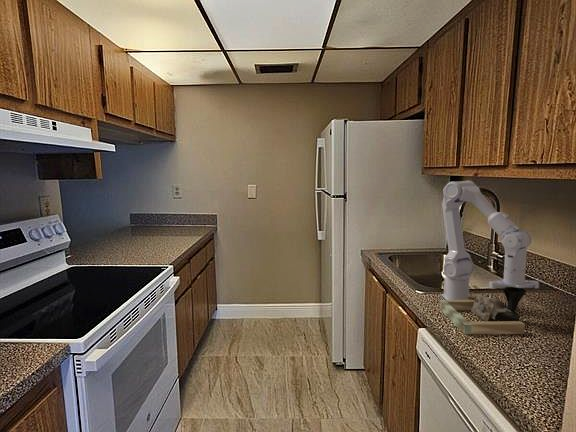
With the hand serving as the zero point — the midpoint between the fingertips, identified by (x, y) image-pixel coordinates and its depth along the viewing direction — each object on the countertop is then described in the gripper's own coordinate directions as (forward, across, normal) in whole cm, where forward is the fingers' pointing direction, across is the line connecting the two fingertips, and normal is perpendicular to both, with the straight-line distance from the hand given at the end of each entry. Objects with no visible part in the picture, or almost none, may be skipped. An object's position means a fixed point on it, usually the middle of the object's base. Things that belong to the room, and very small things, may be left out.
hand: (512, 309), depth 117 cm
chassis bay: (+3, -11, 0) cm, 12 cm away
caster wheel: (+4, -4, 0) cm, 6 cm away
